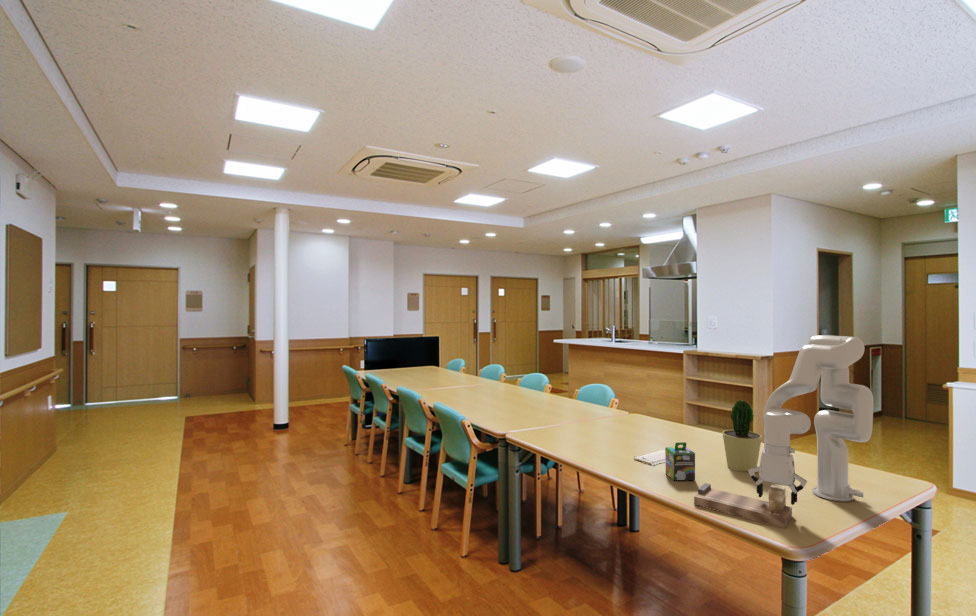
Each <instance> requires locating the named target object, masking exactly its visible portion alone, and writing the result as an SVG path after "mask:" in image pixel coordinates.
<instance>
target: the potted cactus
mask: <svg viewBox="0 0 976 616" xmlns="http://www.w3.org/2000/svg"><path fill="white" fill-rule="evenodd" d="M749 403H750V402H747V401H745V400H737V401H736V402H735V403H734V404H733V406H732V407H731V408H732V409H730V410H729V411H730V412H731V413H730V412H729V415H730V416H729V418H730V420H731V422H732V424H731V426H732V429H727V430H725V429H724V430H723V431H722V438H723V445H724V452H725V458H726V465H727V468H729V467H730V468H729V469H731V468H732V469H731V470H733V469H735V470H734V471H737V470H738V471H737V472H742V471H747V472H746V473H749V472H748V470H749V469H752V468H755V467H758V461H759V456H760V451H761V450H760V449H761V445H762V444H761V443H762V437H763V436H762V435H761V434H760V433H758V432H755V431H754V432H753V431H751V430H750V428H752V429H753V427H751V423H752V422H754V421H755V419H754V417H756V415H755V414H754V408H753V407H752V406H751V404H749ZM752 408H753V409H752Z"/></svg>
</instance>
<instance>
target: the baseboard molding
mask: <svg viewBox="0 0 976 616" xmlns="http://www.w3.org/2000/svg"><path fill="white" fill-rule="evenodd" d="M634 459H636V460H635V461H637V460H639V461H638V462H640V461H642V462H641V463H643V462H645V463H644V464H646V463H648V464H647V465H649V464H651V465H650V466H652V465H654V466H656V465H655V464H657V465H659V464H658V463H661V462H664V463H666V462H665V449H660V450H657V451H655V452H649V453H646V454H643V455H639V456H634V457H633V460H634ZM661 464H662V463H661Z"/></svg>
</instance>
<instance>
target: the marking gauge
mask: <svg viewBox="0 0 976 616" xmlns="http://www.w3.org/2000/svg"><path fill="white" fill-rule="evenodd" d="M786 499H787V496H786V487H784V486H778V485H773V484H771V485H770V487H769V488H768V502H769V507H770V508H769V510H770V511H771V513H773V510H774V509H775V508H776V509H780V510H783V508H784V507H785V506H787V500H786Z"/></svg>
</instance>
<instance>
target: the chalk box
mask: <svg viewBox="0 0 976 616" xmlns="http://www.w3.org/2000/svg"><path fill="white" fill-rule="evenodd" d="M665 461H666V462H665V475H667V476H668V477H669V476H670V477H671V478H672V479H673V480H672V479H671V478H670V477H669V478H670V479H671V480H672V481H674V480H675V481H674V482H679V481H678V480H695V481H696V452H694V451H693V450H691V449H690V448H689V447H687V442H680V441H679V442H675V445H674V446H667V447H665ZM676 480H677V481H676Z"/></svg>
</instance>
